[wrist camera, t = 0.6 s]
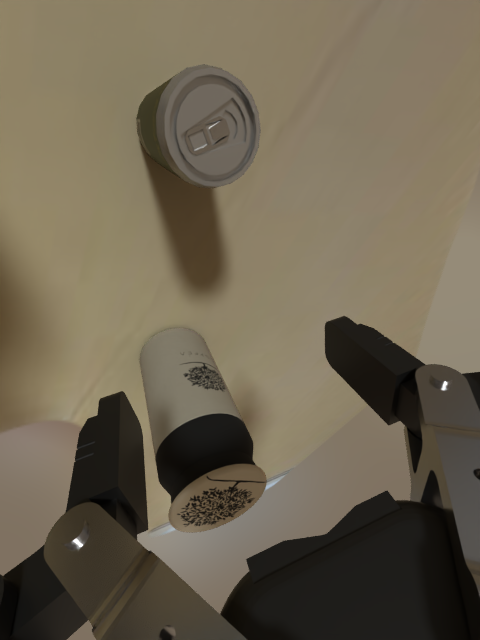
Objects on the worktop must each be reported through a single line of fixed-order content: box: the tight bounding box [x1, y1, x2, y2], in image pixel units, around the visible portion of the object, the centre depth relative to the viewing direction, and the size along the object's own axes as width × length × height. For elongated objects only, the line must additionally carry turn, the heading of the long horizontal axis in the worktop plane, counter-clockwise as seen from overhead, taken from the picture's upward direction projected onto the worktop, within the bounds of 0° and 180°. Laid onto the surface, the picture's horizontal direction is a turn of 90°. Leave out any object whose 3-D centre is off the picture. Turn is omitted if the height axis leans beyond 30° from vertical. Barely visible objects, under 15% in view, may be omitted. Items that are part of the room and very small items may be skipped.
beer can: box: [136, 64, 261, 188], centre depth 19 cm, size 5×5×12 cm
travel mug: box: [140, 328, 266, 532], centre depth 29 cm, size 8×8×18 cm
